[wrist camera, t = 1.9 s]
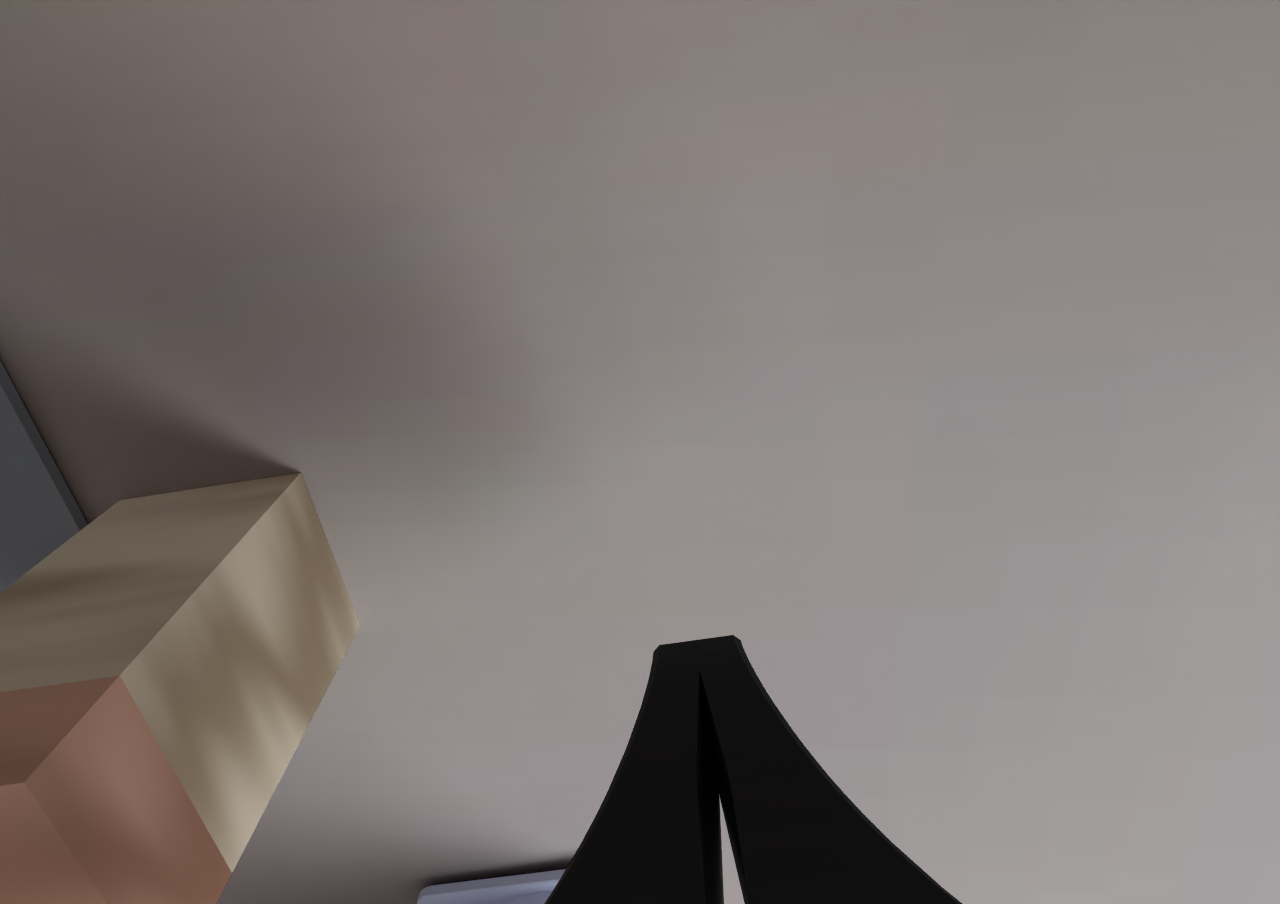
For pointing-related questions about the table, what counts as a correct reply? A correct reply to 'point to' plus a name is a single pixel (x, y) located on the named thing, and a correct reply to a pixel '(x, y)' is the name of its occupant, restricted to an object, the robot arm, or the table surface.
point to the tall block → (161, 691)
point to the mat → (29, 492)
